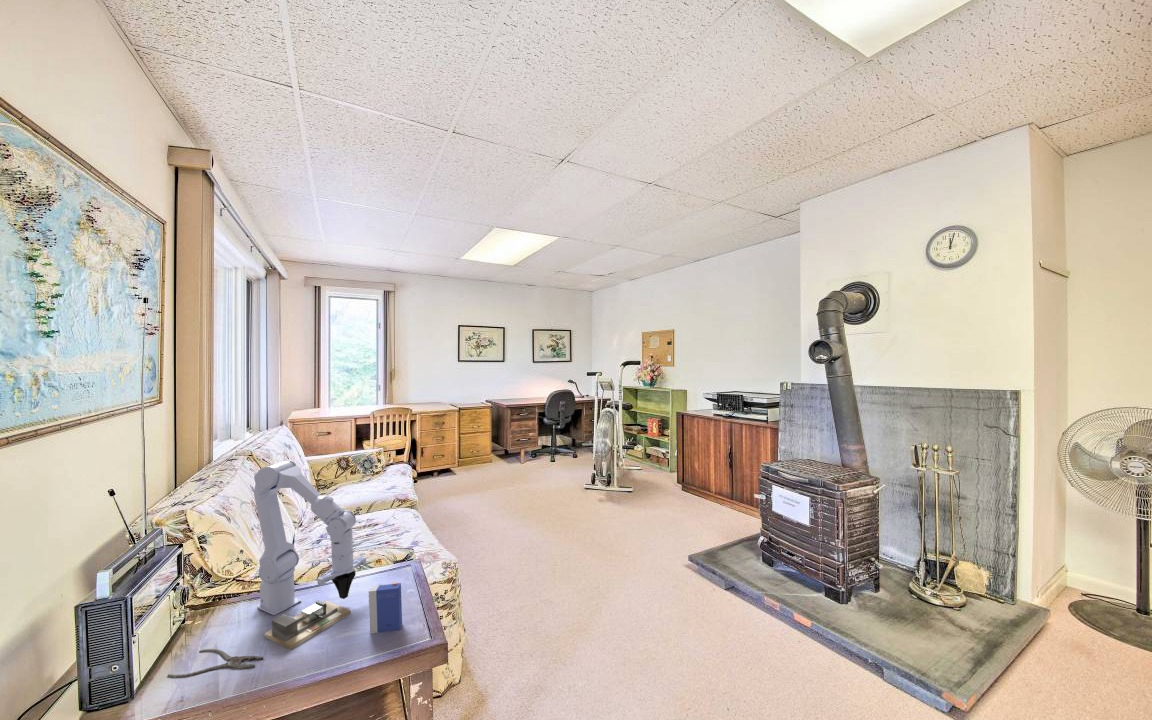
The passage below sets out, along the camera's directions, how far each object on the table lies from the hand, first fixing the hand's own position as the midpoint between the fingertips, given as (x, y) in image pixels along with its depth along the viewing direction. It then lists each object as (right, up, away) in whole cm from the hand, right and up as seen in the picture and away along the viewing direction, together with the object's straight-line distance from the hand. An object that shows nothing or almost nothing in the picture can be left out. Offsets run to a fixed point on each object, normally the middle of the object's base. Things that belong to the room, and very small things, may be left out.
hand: (343, 597), depth 129 cm
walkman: (+19, -2, -12) cm, 22 cm away
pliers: (-18, -4, -23) cm, 29 cm away
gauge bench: (-5, -3, -9) cm, 11 cm away
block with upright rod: (-3, -1, -9) cm, 9 cm away
